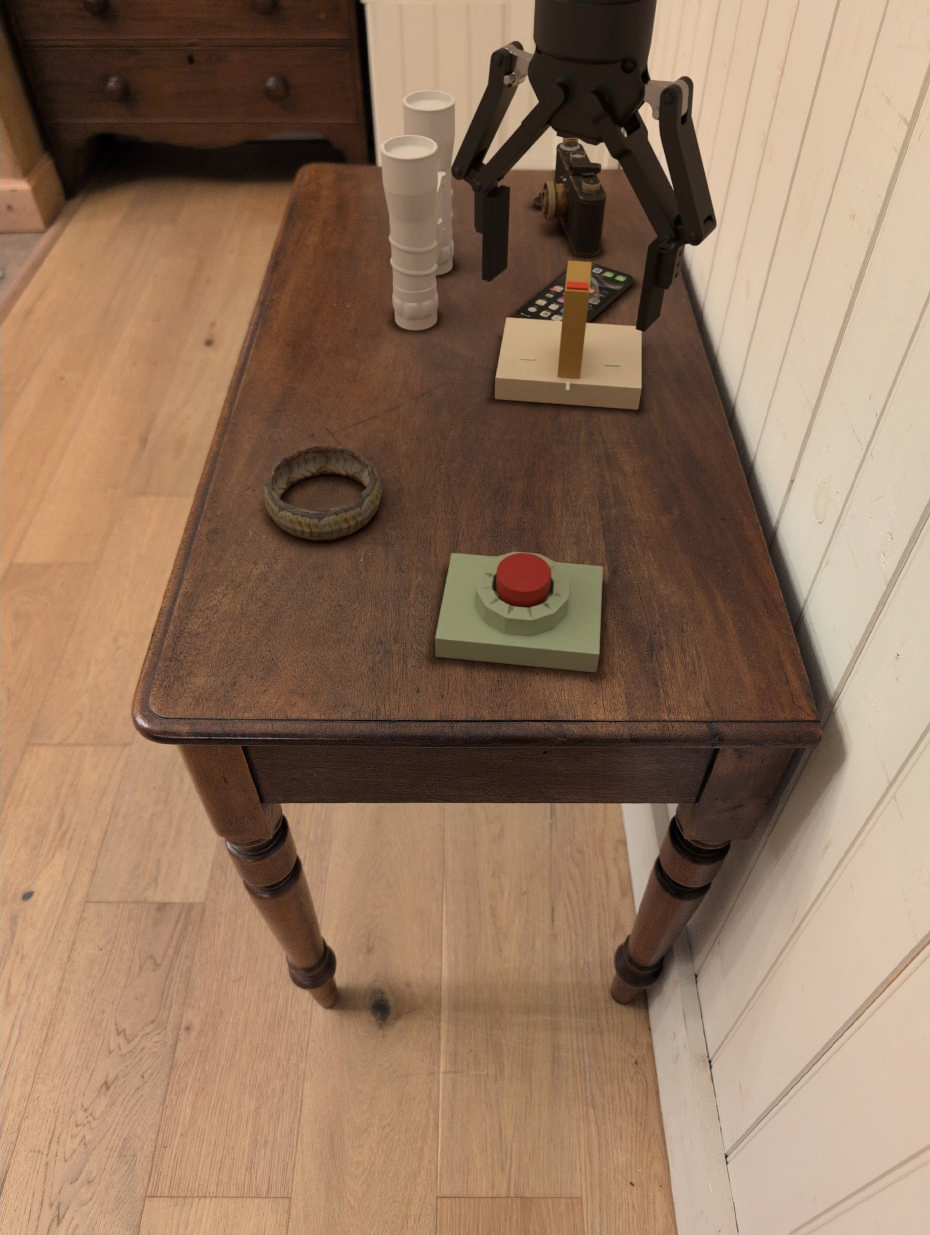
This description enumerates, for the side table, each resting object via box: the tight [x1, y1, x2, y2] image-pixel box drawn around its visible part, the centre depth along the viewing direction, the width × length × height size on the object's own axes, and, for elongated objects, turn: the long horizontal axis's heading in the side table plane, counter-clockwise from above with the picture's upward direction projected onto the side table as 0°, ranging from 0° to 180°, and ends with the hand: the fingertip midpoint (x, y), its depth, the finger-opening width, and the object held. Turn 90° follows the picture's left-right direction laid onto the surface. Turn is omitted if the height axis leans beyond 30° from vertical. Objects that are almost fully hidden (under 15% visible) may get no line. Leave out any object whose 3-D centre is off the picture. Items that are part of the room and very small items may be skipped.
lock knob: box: [557, 260, 593, 378], centre depth 87 cm, size 6×2×9 cm, turn 173°
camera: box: [532, 137, 607, 258], centre depth 112 cm, size 16×7×8 cm, turn 7°
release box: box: [434, 551, 604, 673], centre depth 70 cm, size 12×9×4 cm
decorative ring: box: [263, 444, 383, 541], centre depth 79 cm, size 10×3×10 cm
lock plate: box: [494, 317, 643, 411], centre depth 92 cm, size 14×12×3 cm
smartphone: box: [514, 260, 634, 323], centre depth 102 cm, size 7×1×15 cm
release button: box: [496, 552, 551, 607], centre depth 68 cm, size 4×4×2 cm
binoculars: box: [379, 89, 456, 331], centre depth 97 cm, size 17×5×18 cm, turn 172°
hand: (568, 297), depth 72 cm, fingers open, 13 cm apart
